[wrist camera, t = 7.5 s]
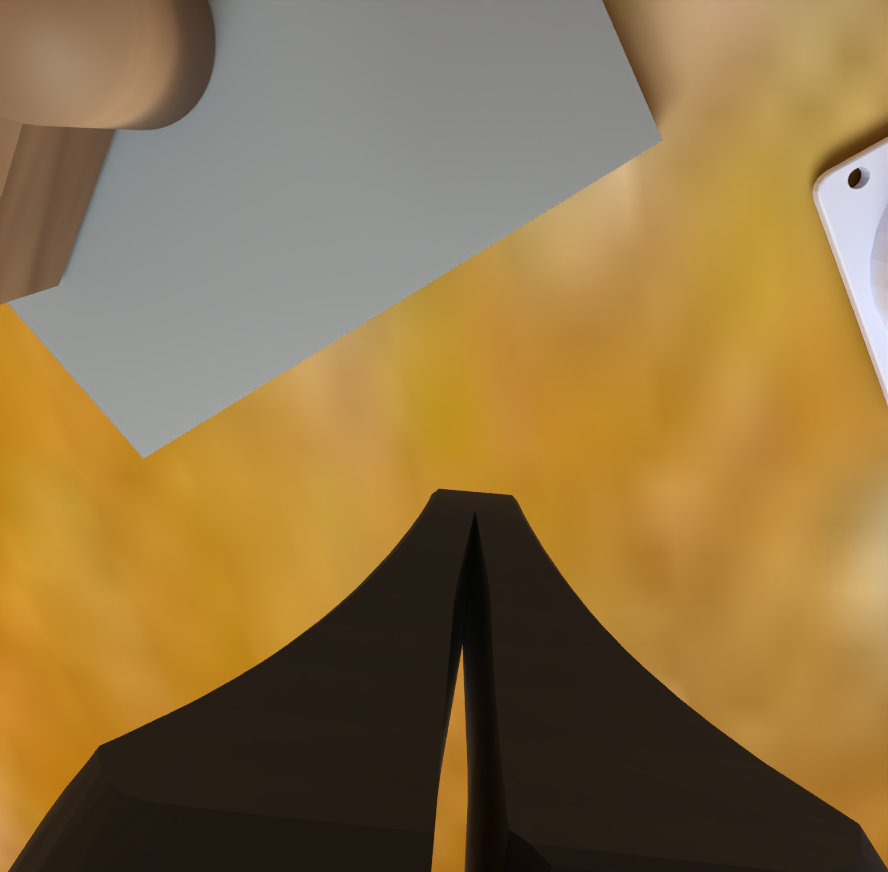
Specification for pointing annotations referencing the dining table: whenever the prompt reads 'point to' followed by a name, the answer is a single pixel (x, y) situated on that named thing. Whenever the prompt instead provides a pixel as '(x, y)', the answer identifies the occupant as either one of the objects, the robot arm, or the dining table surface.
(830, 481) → the dining table surface
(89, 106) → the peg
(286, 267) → the grey board
